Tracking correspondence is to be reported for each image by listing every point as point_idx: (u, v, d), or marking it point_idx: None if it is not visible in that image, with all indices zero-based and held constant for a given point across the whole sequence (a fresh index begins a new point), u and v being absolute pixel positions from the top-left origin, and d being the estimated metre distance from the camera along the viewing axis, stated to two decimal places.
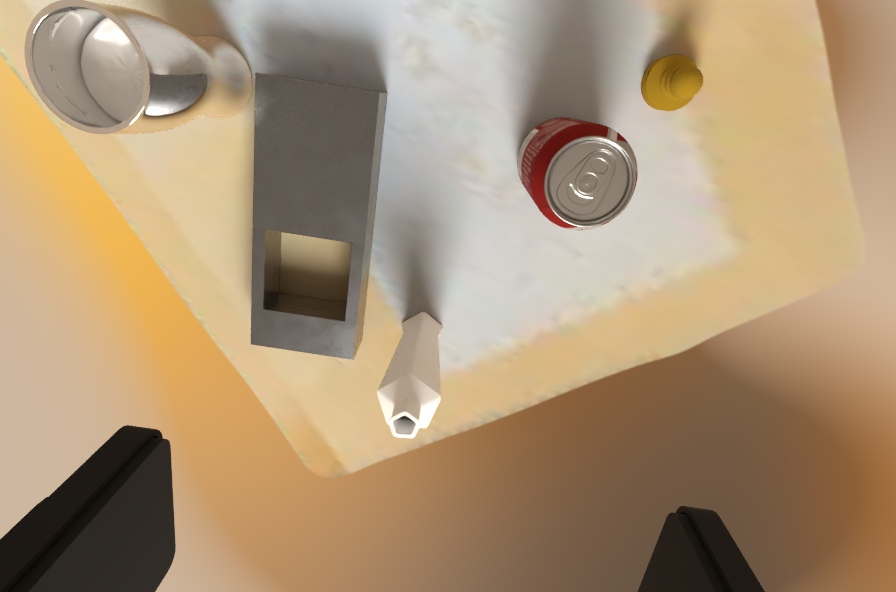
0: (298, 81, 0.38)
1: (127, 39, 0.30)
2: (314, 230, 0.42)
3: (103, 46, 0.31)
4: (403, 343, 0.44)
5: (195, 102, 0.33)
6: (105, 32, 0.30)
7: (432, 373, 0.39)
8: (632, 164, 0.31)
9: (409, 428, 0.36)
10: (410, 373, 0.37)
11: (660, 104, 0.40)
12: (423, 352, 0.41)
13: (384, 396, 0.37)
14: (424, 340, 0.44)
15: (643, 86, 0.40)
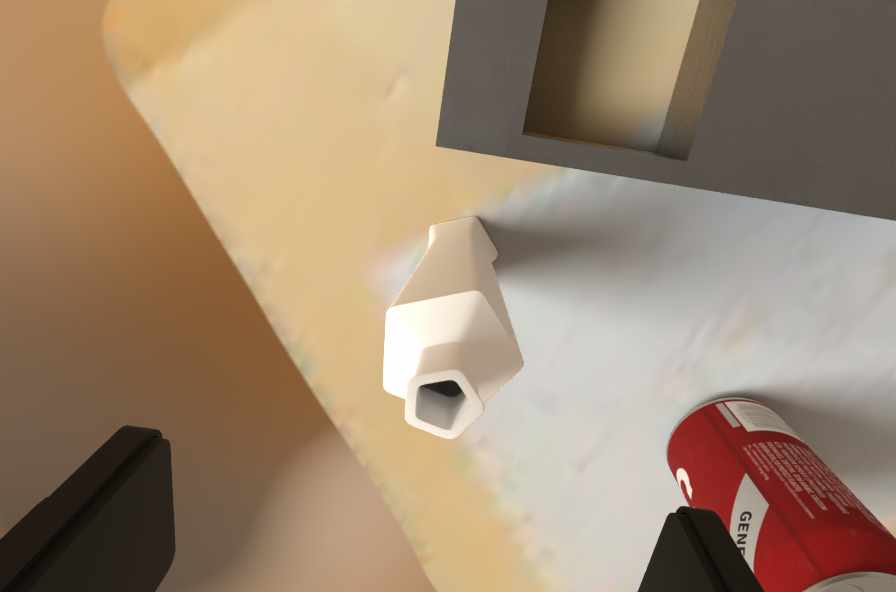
0: None
1: None
2: (724, 85, 0.21)
3: None
4: (483, 257, 0.23)
5: None
6: None
7: None
8: None
9: (418, 398, 0.15)
10: (523, 363, 0.16)
11: None
12: None
13: (471, 312, 0.15)
14: None
15: None
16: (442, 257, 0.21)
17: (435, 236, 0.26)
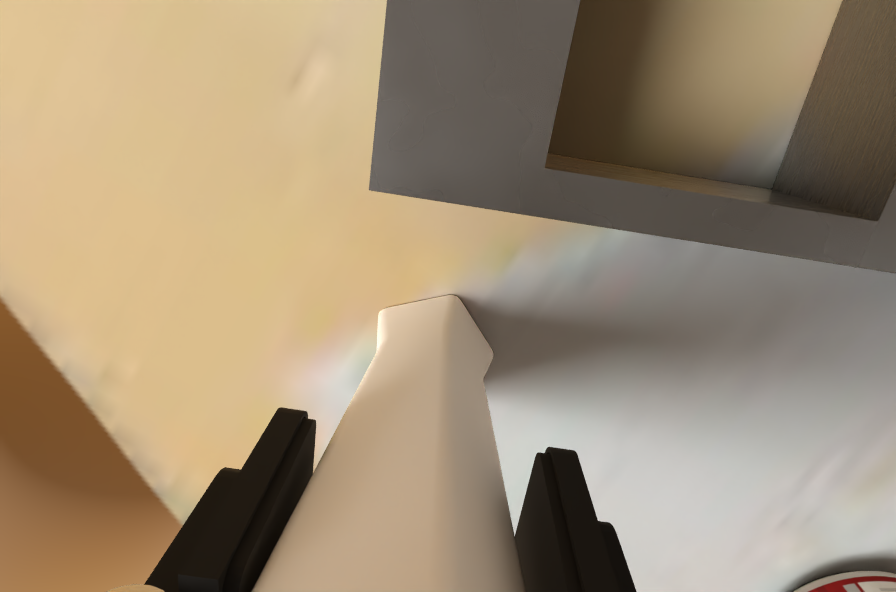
0: None
1: None
2: None
3: None
4: (468, 408, 0.12)
5: None
6: None
7: None
8: None
9: None
10: None
11: None
12: None
13: None
14: None
15: None
16: (379, 434, 0.10)
17: (384, 336, 0.15)
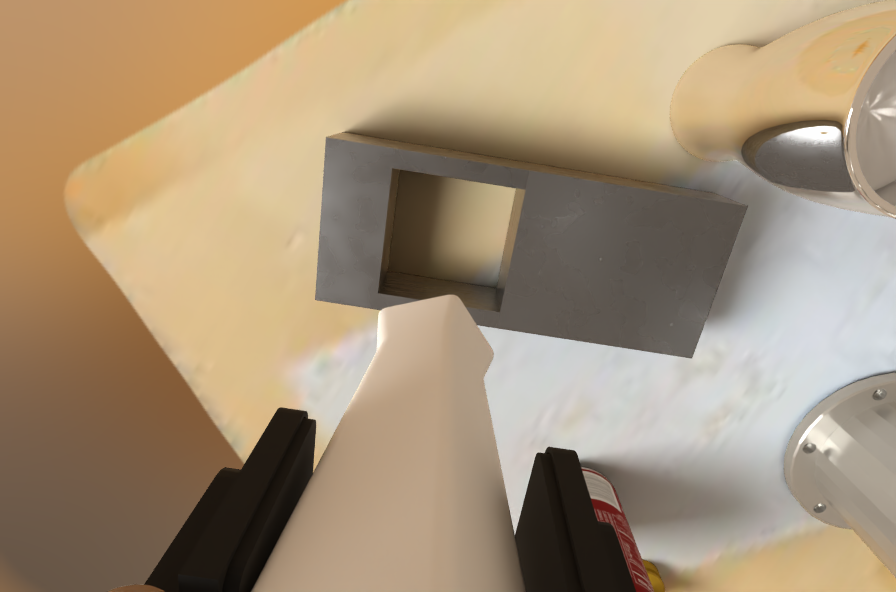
0: (724, 262, 0.28)
1: None
2: (520, 262, 0.28)
3: None
4: (468, 407, 0.12)
5: (781, 188, 0.21)
6: None
7: None
8: None
9: None
10: None
11: None
12: None
13: None
14: None
15: None
16: (379, 434, 0.10)
17: (385, 336, 0.15)
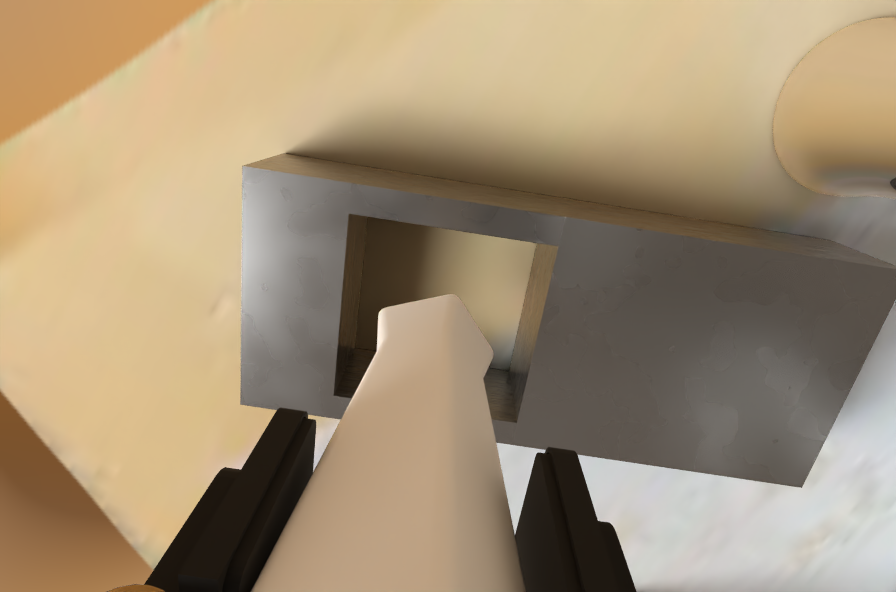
0: (864, 353, 0.18)
1: None
2: (548, 353, 0.19)
3: None
4: (468, 407, 0.12)
5: None
6: None
7: None
8: None
9: None
10: None
11: None
12: None
13: None
14: None
15: None
16: (379, 433, 0.10)
17: (384, 335, 0.15)
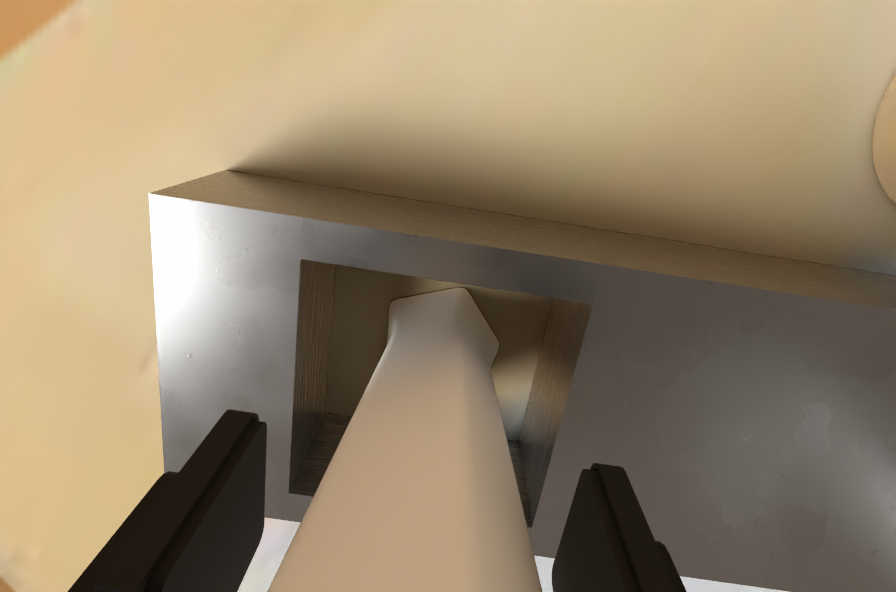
0: None
1: None
2: (576, 442, 0.14)
3: None
4: (479, 392, 0.12)
5: None
6: None
7: None
8: None
9: None
10: None
11: None
12: None
13: None
14: None
15: None
16: (398, 413, 0.10)
17: (396, 325, 0.16)
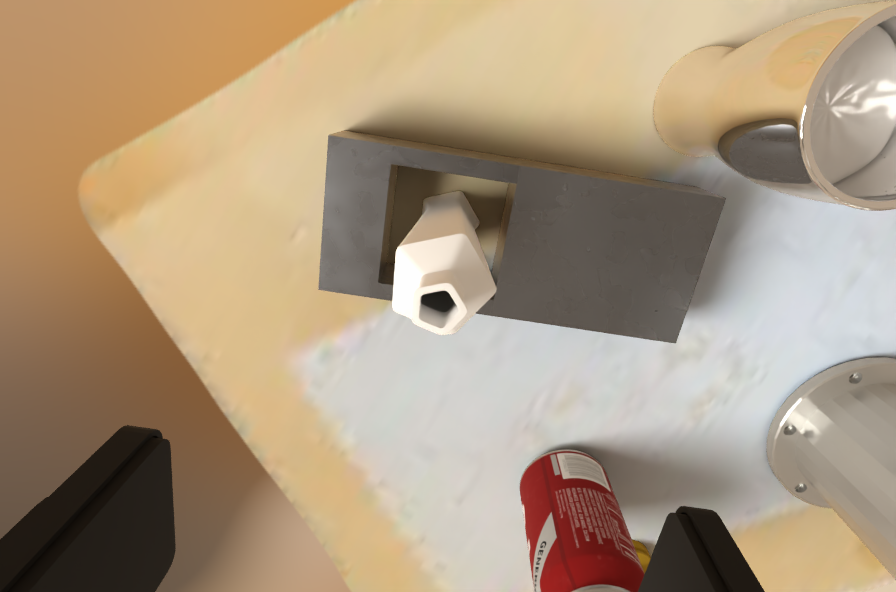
0: (705, 251, 0.30)
1: (872, 111, 0.20)
2: (512, 253, 0.30)
3: (873, 66, 0.20)
4: (467, 221, 0.29)
5: (751, 180, 0.23)
6: (890, 75, 0.20)
7: None
8: None
9: (420, 307, 0.20)
10: None
11: None
12: None
13: (458, 249, 0.21)
14: None
15: None
16: (435, 218, 0.27)
17: (428, 206, 0.32)
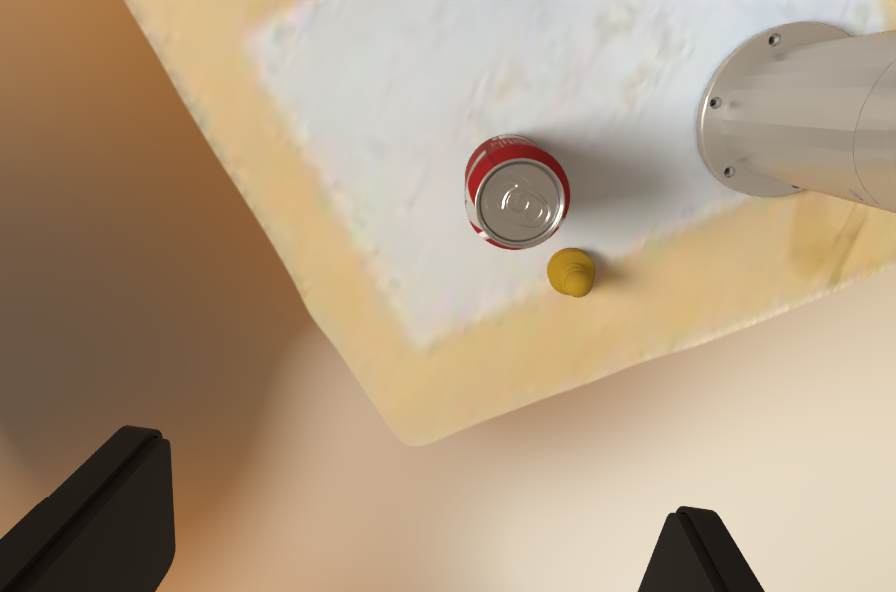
0: None
1: None
2: None
3: None
4: None
5: None
6: None
7: None
8: (535, 243, 0.33)
9: None
10: None
11: (555, 265, 0.44)
12: None
13: None
14: None
15: (569, 249, 0.45)
16: None
17: None
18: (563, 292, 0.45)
